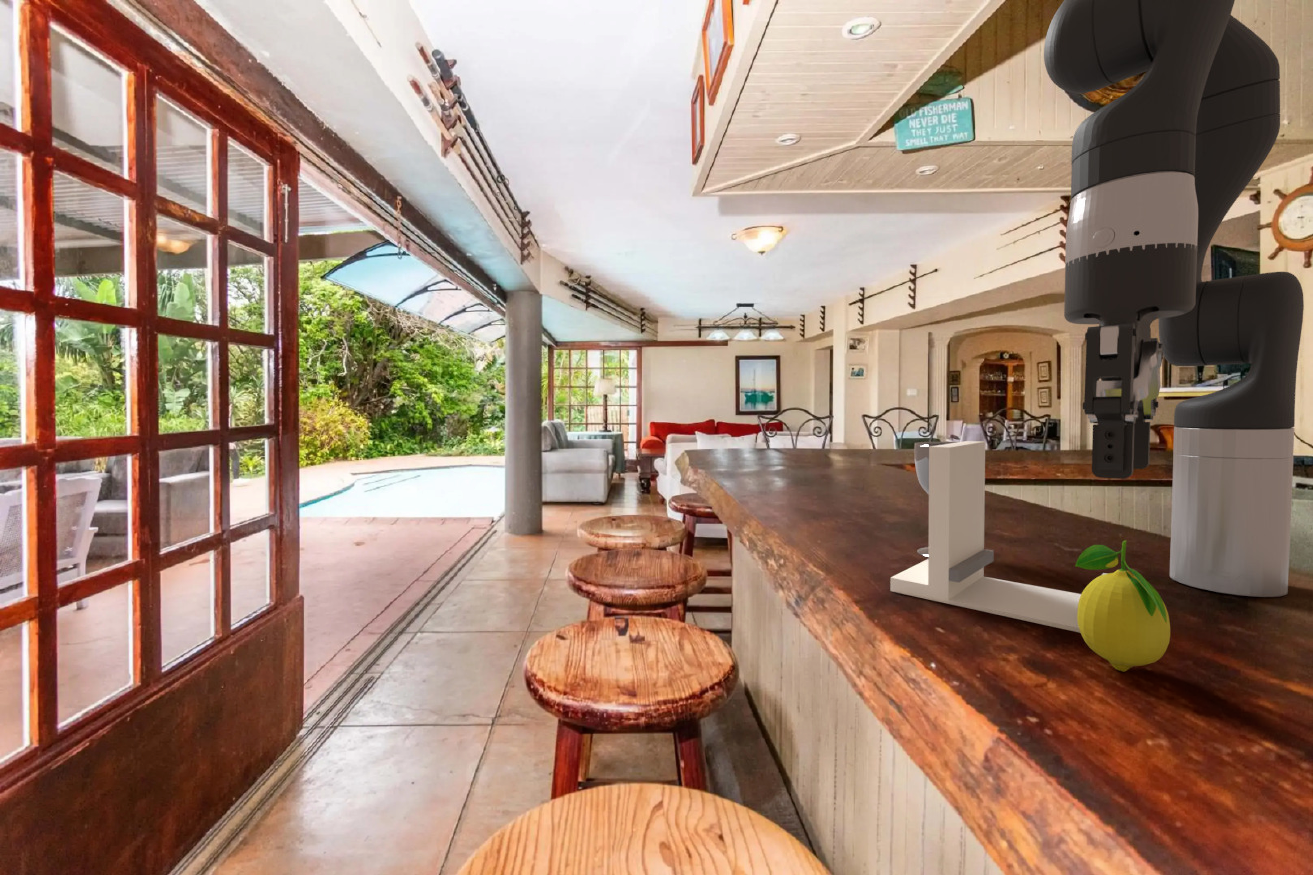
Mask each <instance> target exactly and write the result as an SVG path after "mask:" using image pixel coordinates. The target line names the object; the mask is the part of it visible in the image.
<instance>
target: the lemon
mask: <svg viewBox="0 0 1313 875" xmlns="http://www.w3.org/2000/svg"><path fill="white" fill-rule="evenodd" d="M1126 551H1127V540H1123V541H1122V544H1121V550H1119V551H1114V550H1113V549H1111V548H1110V547H1108V546H1106V545H1104V544H1103V545H1102V544H1093V545H1090V546H1088V547H1087V548H1086V549H1084V550H1083V551H1082V552H1081V553H1080V555H1079V556H1078V558H1077V560H1076V562H1075V565H1074V567H1076V568H1077V567H1078V568H1081V569H1085V570H1088V571H1089V570H1090V571H1091V570H1092V571H1094V570H1095V571H1098V570H1108V569H1111V568H1114V567H1116V566H1117V565H1118V564H1119V556H1118V555H1119V554H1121V555H1120V556H1121V557H1120V561H1121V562H1120V564H1121V565H1120V566H1121V568H1119V569H1116V571H1114V572H1109V573H1108V574H1104V575H1102V574H1101V575H1099V576H1097V577H1096V578H1094V579H1092V581H1090V582H1089V583H1088V584H1087V585H1086V587H1085V588H1083V590H1082V592H1081V593H1080V594H1081V596H1080V598H1079V603H1078V611H1077V621H1078V627H1079V630H1080V632H1081V633H1080V634H1081V637H1082V638H1083V640H1084V642H1085V644H1086V645H1087V646H1088V648H1089V649H1091V650H1092V652H1094V653H1095V654H1097V655H1098V656H1100V657H1101V658H1103V659H1104V660H1107V661H1108V662H1109V664H1110V665H1111V666H1112V667H1113V668H1114V669H1115V670H1117V671H1119V672H1123V673H1124V672H1127V671H1129V670H1130V668H1132V667H1138V666H1139V667H1140V666H1141V667H1142V666H1146V665H1150V664H1153V663H1156V662H1157V661H1158V660H1160V659H1161V658H1162V657H1163V656H1164V654H1165V653H1166V652H1167V649H1168V646H1169V644H1170V638H1171V623H1170V616H1169V611H1168V610H1167V606H1166V604H1165V603H1164V601H1163V599H1162V597H1161V595H1160V594H1159V592H1158V591H1157V590H1156V589H1155V588H1154V586H1153V585H1152V584H1151V583H1150V582H1149V581H1148V580H1146V578H1145V577H1143V575H1142V574H1141V573H1139V572H1138V571H1137V570H1135V569H1133V568H1130V567H1129V565H1128V563H1127V562H1126V553H1127V552H1126ZM1127 569H1128V570H1127Z"/></svg>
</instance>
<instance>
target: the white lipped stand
mask: <svg viewBox="0 0 1313 875" xmlns="http://www.w3.org/2000/svg"><path fill="white" fill-rule="evenodd" d="M956 442H957V443H950V444H944V445H937V446H931V447H929V494H928V546H927V547H928V557H927V559H925V560H923V561H921V562H920V563H917V564H915V565H913V566H911V567H909V568H907V569H905V570H903V571H901V572H899V573H897V574H894V575H893V576H891V577H890V584H889V586H890V592H893V593H897V594H902V595H907V596H912V597H916V598H921V599H925V600H930V601H933V602H939V603H943V604H947V605H952V606H957V607H961V608H967V609H971V610H976V611H980V612H984V613H989V614H993V615H999V616H1002V617H1006V618H1012V619H1016V620H1021V621H1026V622H1030V623H1035V624H1039V625H1043V626H1049V627H1052V628H1057V629H1061V630H1067V631H1071V632H1075V633H1079V634H1081V632H1080V630H1079V627H1078V621H1077V611H1078V603H1079V598H1080V596H1081V594H1082V593H1077V592H1071V591H1066V590H1060V589H1055V588H1049V587H1044V586H1039V585H1032V584H1028V583H1022V582H1021V583H1020V582H1014V581H1010V580H1003V579H998V578H994V577H988V576H987V577H986V576H984V572H985V571H984V570H985V567H986V566H988V565H989V564H991V563H993V562H994V556H995V555H994V554H995V552H994V551H995V550H991V549H986V548H985V504H986V503H985V499H986V498H985V493H986V490H985V487H986V486H985V485H986V484H985V483H986V472H985V471H986V470H985V469H986V441H982V440H981V441H978V440H977V441H976V440H965V441H964V440H963V441H956ZM1104 574H1109V573H1105V572H1103V573H1102V574H1101V575H1104Z"/></svg>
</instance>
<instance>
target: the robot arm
mask: <svg viewBox="0 0 1313 875" xmlns="http://www.w3.org/2000/svg"><path fill="white" fill-rule="evenodd" d="M1235 2H1236V0H1063V1H1062V3H1061V5H1059V7H1058V9H1057V11H1056V12H1055V13H1054V16H1053V17H1052V19H1051V22H1050V24H1049V26H1048V29H1047V31H1046V32H1047V33H1046V36H1045V40H1044V47H1043V61H1044V65H1045V66H1044V67H1045V70H1046V72H1047V75H1048V76H1049V78H1050V81H1052V82H1053V83H1054V85H1056V86H1057V88H1059V89H1061V90H1062V91H1065V92H1068V93H1071V94H1086V93H1087V94H1088V93H1092V92H1096V91H1099V90H1101V89H1104V88H1106V87H1110V86H1112V85H1114V84H1116V83H1119V82H1123V81H1124V80H1127V79H1129V78H1132V77H1135V76H1138V75H1141V74H1144V73H1145V74H1144V75H1143V77H1142V78H1141V79H1140V80H1139V82H1138V83H1137V84H1135V86H1133V87H1132V88H1131V89H1130V90H1128V91H1127V92H1126V93H1124V94H1122V95H1121V96H1119V97H1118V98H1116V99H1115V100H1113V101H1111V102H1110V103H1108V104H1106V105H1104V106H1103V107H1101V108H1099V109H1098V110H1097V111H1095V112H1093V113H1092V114H1091V115H1088V116H1087V117H1086V118H1085V119H1084V120H1083V121H1081V123H1080V124H1079V125H1078V127H1077V128H1076V130H1075V132H1074V135H1073V138H1072V144H1071V145H1072V146H1071V160H1070V161H1071V162H1070V163H1071V164H1070V165H1071V175H1070V176H1071V178H1070V180H1071V182H1070V183H1071V184H1070V187H1071V188H1070V202H1069V203H1070V204H1069V213H1068V218H1067V224H1066V232H1065V254H1064V255H1065V256H1064V257H1065V259H1064V260H1065V264H1064V265H1065V266H1064V307H1063V308H1064V310H1063V311H1064V312H1063V313H1064V314H1063V315H1064V316H1063V317H1064V319H1065V320H1066V322H1068V323H1071V324H1076V325H1096V326H1088V327H1087V330H1086V332H1085V333H1084V338H1085V339H1084V340H1085V341H1086V344H1085V345H1086V346H1085V348H1086V349H1085V368H1084V369H1085V374H1084V377H1085V378H1084V397H1083V398H1084V401H1083V402H1082V410H1084V414H1085V415H1087V419H1089V423H1090V424H1092V443H1091V444H1092V445H1091V448H1092V451H1091V473H1092V475H1094V476H1095V477H1097V478H1100V479H1121V480H1125V479H1128V478H1130V477H1132V476H1133V474H1134V470H1144V469H1145V468H1147V467H1148V466H1149V465H1150V451H1151V449H1150V448H1151V421H1153V420H1154V417H1156V411H1157V409H1158V408H1159V401H1158V400H1157V398H1158V397H1159V394H1160V391H1161V390H1160V389H1161V371H1160V370H1161V369H1160V368H1161V367H1162V363H1163V359H1165V360H1166V361H1167V362H1168V363H1169V364H1171V365H1172V366H1176V367H1203V366H1205V367H1206V366H1222V365H1223V366H1225V365H1240V364H1241V365H1243V364H1251V365H1250V368H1249V371H1248V372H1247V374H1246V375H1245V376H1244V377H1242V378H1241V379H1239V380H1237V381H1236V382H1234V383H1232V384H1230V385H1229V386H1228V385H1227V386H1226V387H1224V388H1222V389H1220V390H1217V391H1214V392H1211V393H1207V394H1203V395H1199V396H1195V397H1192V398H1188V399H1186V400H1185V399H1184V400H1183V401H1180V402H1179V403H1178V404H1176V406H1175V408H1174V413H1173V416H1174V418H1173V426H1174V427H1173V450H1172V452H1173V457H1172V458H1173V463H1172V464H1173V465H1172V488H1171V489H1172V491H1171V492H1172V496H1171V520H1170V521H1171V527H1170V545H1169V546H1170V549H1169V550H1170V552H1169V553H1170V554H1169V556H1170V557H1169V577H1170V578H1171V579H1172V580H1173V581H1176V582H1178V583H1181V584H1183V585H1186V586H1189V587H1193V588H1197V589H1201V590H1207V591H1210V592H1211V591H1212V592H1216V593H1220V594H1221V593H1222V594H1227V595H1228V594H1229V595H1236V596H1247V597H1259V598H1262V597H1263V598H1267V597H1268V598H1272V597H1273V598H1274V597H1282V596H1286V595H1288V592H1289V590H1288V589H1289V569H1290V568H1289V567H1290V552H1291V549H1290V548H1291V526H1292V525H1291V524H1292V501H1293V500H1292V499H1293V498H1292V497H1293V478H1294V477H1293V474H1294V446H1295V445H1294V444H1295V428H1294V427H1295V421H1296V420H1295V415H1296V414H1295V413H1296V412H1295V410H1296V389H1297V387H1296V386H1297V385H1296V384H1297V370H1298V360H1299V351H1300V345H1301V338H1302V337H1301V336H1302V330H1303V322H1304V310H1305V309H1304V307H1305V306H1304V292H1303V287H1302V284H1301V282H1300V281H1299V279H1298V278H1297V276H1296V275H1295V274H1293V273H1292V272H1289V271H1273V272H1265V273H1264V272H1263V273H1256V274H1250V275H1241V276H1233V277H1226V278H1219V279H1211V280H1206V281H1203V280H1202V273H1203V267H1204V261H1205V258H1206V255H1207V251H1208V248H1209V246H1210V245H1211V242H1212V240H1213V238H1214V235H1215V234H1216V232H1217V230H1218V229H1219V227H1220V226H1221V224H1222V223H1223V220H1224V218H1225V217H1226V216H1227V214H1228V213H1229V211H1230V209H1231V208H1232V207H1233V205H1234V204H1235V203H1236V201H1237V200H1238V199H1239V197H1240V196H1241V194H1242V193H1243V192H1244V190H1245V189H1246V187H1247V186H1248V185H1249V183H1250V182H1251V181H1252V179H1253V178H1254V176H1255V175H1256V174H1257V173H1258V170H1259V169H1260V168H1261V166H1262V164H1264V161H1265V160H1266V159H1267V158H1268V156H1269V154H1270V152H1271V150H1272V149H1273V147H1274V145H1275V143H1276V141H1277V138H1278V136H1279V133H1280V129H1281V114H1280V113H1281V81H1280V78H1281V76H1280V73H1281V72H1280V69H1281V68H1280V63H1279V59H1278V57H1277V56H1276V54H1275V52H1274V51H1273V50H1272V48H1271V47H1270V46H1269V45H1268V44H1267V43H1266V41H1264V40H1263V39H1262V38H1261V37H1259V35H1257V34H1256V33H1255V32H1254V31H1253V30H1252V29H1250V28H1249V27H1248V26H1247V25H1245V24H1244V23H1242V22H1241V21H1240V20H1239V19H1237V18H1236V17H1234V15H1232V11H1233V8H1234V4H1235ZM1157 319H1158V337H1152V336H1151V335H1152V334H1151V333H1152V331H1151V330H1152V329H1151V324H1152V323H1153V322H1154V321H1155V320H1157ZM1097 325H1098V326H1097ZM1163 357H1164V358H1163Z"/></svg>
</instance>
